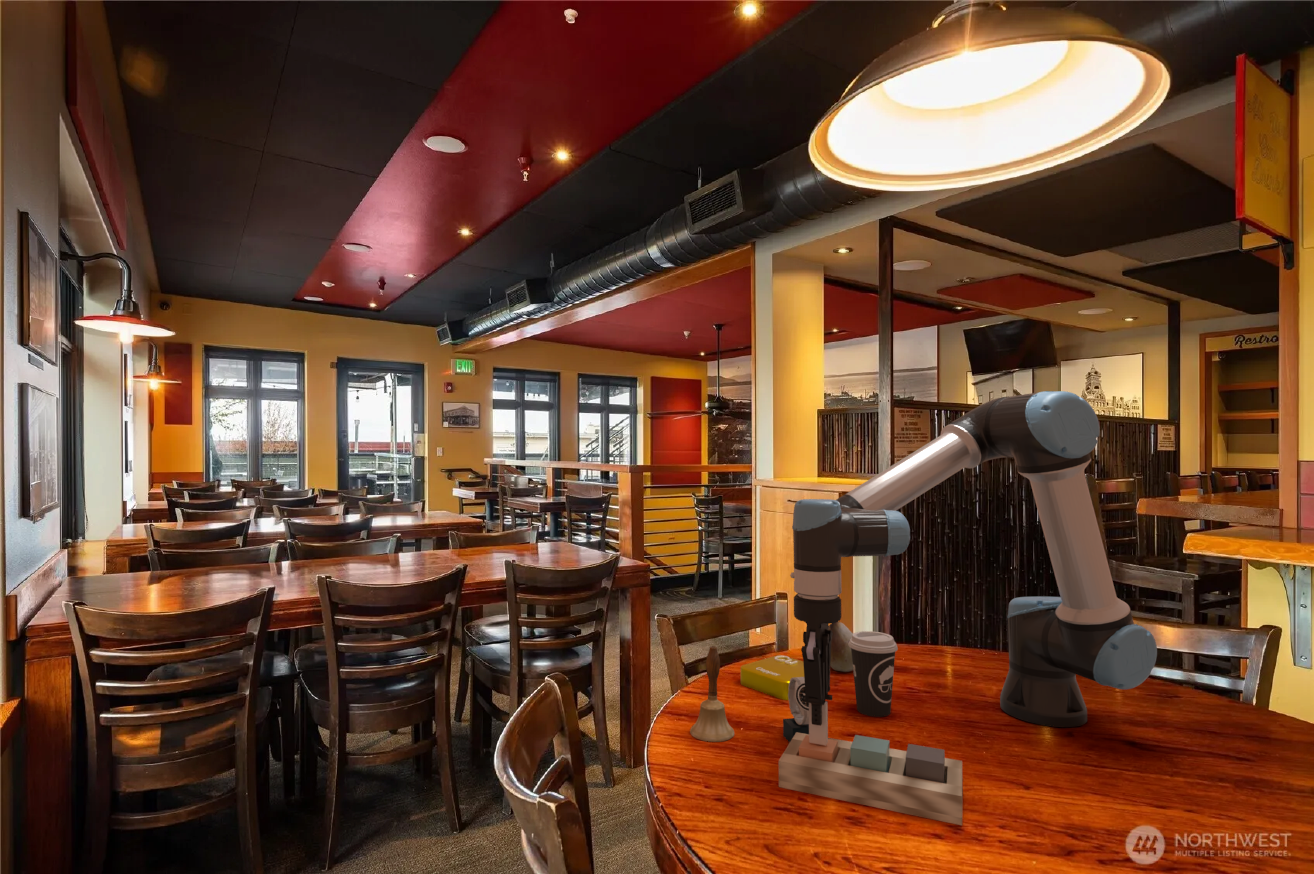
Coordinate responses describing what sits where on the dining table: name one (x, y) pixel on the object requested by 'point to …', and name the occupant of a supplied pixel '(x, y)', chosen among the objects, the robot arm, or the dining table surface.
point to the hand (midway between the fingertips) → (818, 741)
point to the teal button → (870, 753)
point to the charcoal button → (925, 763)
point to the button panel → (874, 783)
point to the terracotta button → (819, 750)
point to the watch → (796, 709)
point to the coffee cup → (873, 671)
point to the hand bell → (712, 707)
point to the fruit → (841, 648)
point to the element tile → (772, 675)
